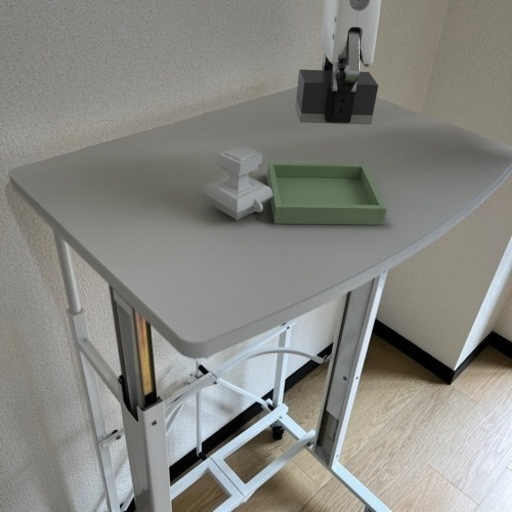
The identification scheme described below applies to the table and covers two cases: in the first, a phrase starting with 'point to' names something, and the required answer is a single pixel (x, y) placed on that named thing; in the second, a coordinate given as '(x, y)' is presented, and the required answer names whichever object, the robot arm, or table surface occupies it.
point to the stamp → (238, 183)
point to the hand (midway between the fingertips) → (333, 111)
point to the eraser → (316, 91)
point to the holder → (324, 194)
